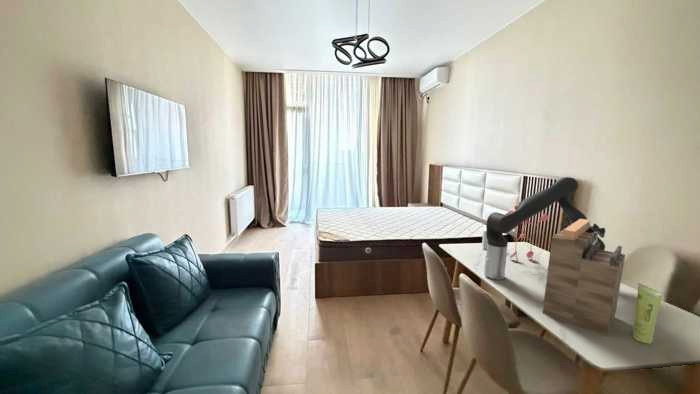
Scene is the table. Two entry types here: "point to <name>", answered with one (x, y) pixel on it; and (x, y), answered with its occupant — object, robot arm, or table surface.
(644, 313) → the tube
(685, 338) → the table surface
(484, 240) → the supplement box
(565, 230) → the bar
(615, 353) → the table surface
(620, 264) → the wooden knife block
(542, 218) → the figurine
